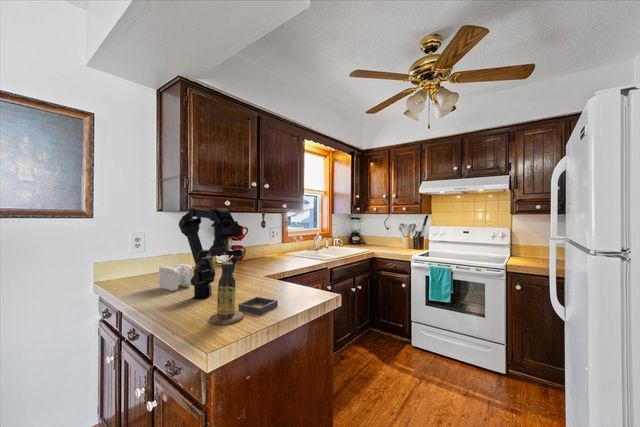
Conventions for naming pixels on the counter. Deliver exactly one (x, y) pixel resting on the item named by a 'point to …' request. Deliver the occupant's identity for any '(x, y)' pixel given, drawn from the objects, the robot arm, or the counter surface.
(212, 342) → the counter surface
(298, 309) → the counter surface
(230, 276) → the sauce bottle
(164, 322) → the counter surface
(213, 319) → the coaster
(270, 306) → the dark grey square tray
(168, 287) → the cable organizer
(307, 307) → the counter surface
